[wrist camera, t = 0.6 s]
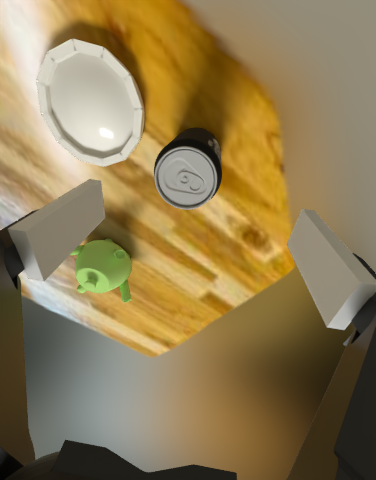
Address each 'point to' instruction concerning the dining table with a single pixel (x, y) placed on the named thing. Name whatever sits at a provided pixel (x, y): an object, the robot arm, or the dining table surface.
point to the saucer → (90, 102)
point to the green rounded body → (103, 267)
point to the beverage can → (189, 169)
